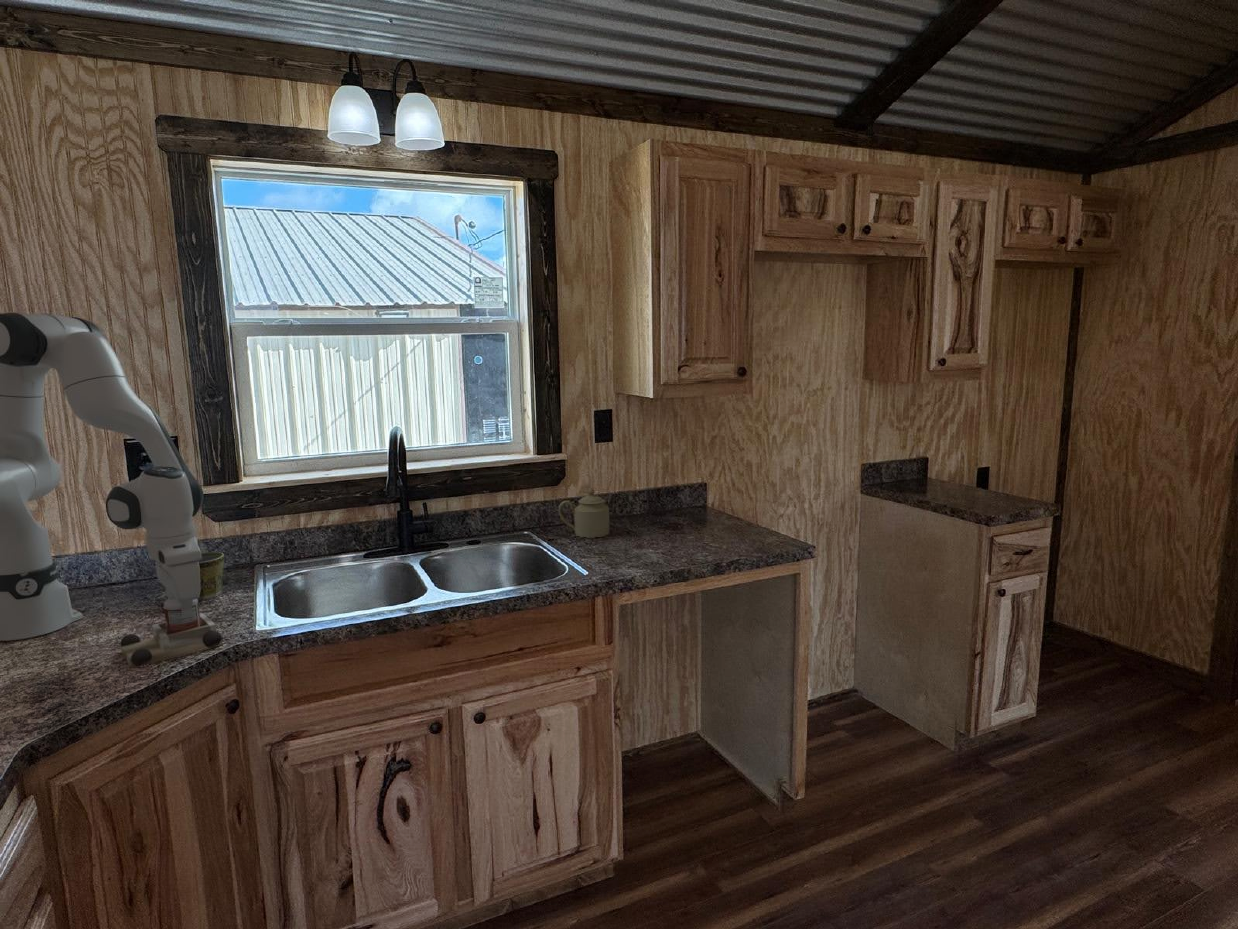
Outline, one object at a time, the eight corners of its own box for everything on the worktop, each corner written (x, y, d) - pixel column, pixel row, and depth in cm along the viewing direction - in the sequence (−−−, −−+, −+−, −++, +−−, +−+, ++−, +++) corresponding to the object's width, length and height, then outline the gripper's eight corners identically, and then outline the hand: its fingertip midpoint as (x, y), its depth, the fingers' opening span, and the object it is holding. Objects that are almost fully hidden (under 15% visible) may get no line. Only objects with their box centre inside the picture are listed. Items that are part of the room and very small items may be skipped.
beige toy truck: (121, 652, 154) (118, 631, 153) (207, 630, 164) (205, 611, 164) (132, 669, 146) (129, 647, 145) (222, 645, 156) (220, 624, 156)
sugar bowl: (571, 542, 229) (570, 493, 227) (558, 534, 239) (556, 487, 236) (615, 535, 236) (614, 488, 233) (600, 527, 245) (599, 482, 243)
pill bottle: (176, 634, 159) (170, 583, 157) (207, 632, 160) (201, 582, 158) (162, 645, 153) (155, 593, 151) (194, 643, 153) (187, 591, 152)
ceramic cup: (234, 595, 188) (230, 556, 186) (191, 606, 180) (186, 565, 179) (214, 584, 196) (210, 547, 195) (172, 594, 189) (167, 556, 187)
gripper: (144, 540, 158) (152, 602, 161) (167, 559, 144) (175, 628, 146) (177, 534, 163) (185, 595, 165) (203, 553, 148) (211, 619, 150)
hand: (180, 611), depth 155 cm, fingers open, 8 cm apart
